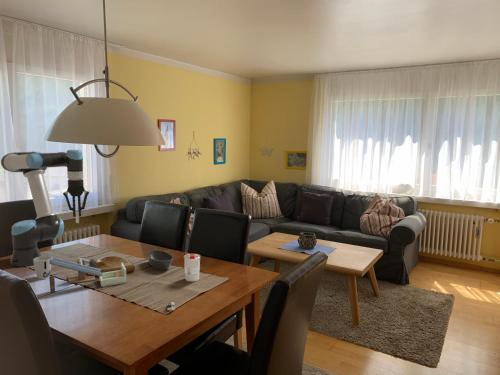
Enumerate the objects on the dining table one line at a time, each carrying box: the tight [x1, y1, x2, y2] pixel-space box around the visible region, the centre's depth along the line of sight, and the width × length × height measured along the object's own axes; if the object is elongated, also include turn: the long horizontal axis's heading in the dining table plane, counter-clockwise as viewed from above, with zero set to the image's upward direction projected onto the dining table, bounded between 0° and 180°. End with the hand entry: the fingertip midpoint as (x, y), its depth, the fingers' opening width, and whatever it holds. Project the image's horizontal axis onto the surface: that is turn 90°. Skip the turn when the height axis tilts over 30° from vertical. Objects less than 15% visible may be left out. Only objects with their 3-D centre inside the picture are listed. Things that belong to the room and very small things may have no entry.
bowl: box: [145, 249, 174, 271], centre depth 206 cm, size 12×22×6 cm, turn 39°
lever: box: [49, 256, 103, 277], centre depth 181 cm, size 18×24×4 cm
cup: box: [33, 255, 52, 280], centre depth 187 cm, size 8×8×10 cm
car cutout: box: [166, 301, 176, 311], centre depth 153 cm, size 15×7×4 cm, turn 15°
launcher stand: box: [48, 259, 96, 294], centre depth 181 cm, size 18×20×10 cm
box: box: [98, 262, 127, 288], centre depth 183 cm, size 10×12×7 cm
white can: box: [183, 253, 201, 283], centre depth 187 cm, size 10×8×12 cm
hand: (77, 222), depth 198 cm, fingers closed
